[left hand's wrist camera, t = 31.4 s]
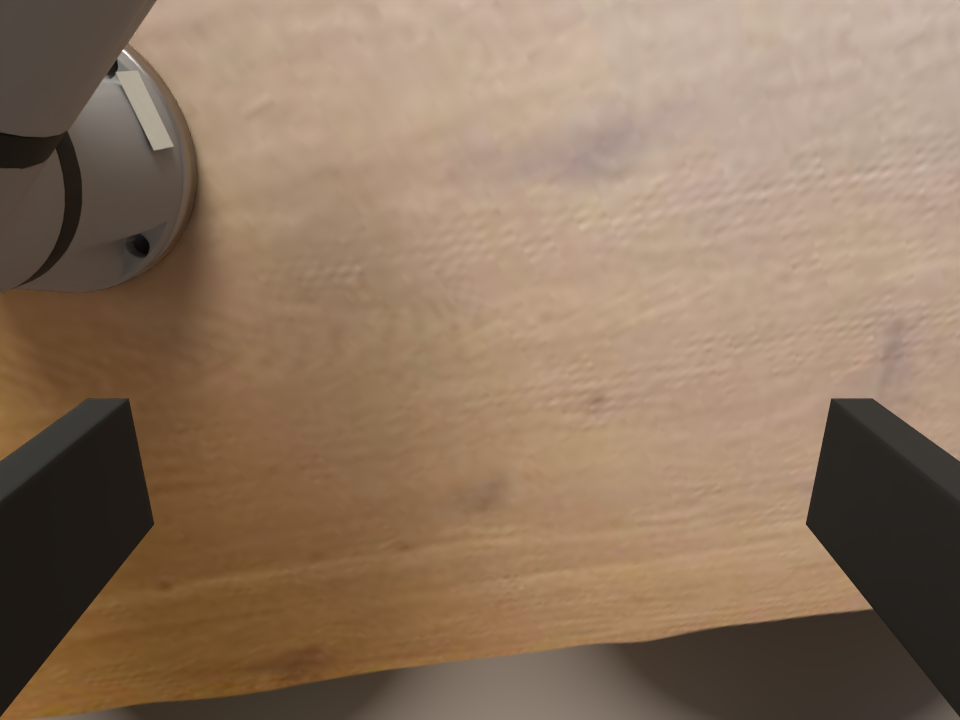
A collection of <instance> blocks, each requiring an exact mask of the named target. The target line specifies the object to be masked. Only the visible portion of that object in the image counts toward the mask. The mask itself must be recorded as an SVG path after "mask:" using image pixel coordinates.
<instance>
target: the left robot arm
mask: <svg viewBox="0 0 960 720" xmlns="http://www.w3.org/2000/svg"><path fill="white" fill-rule="evenodd" d="M155 2H156V0H0V294H1V293H3V292H6V291H8V290H10V289H13V288H16V289H27V290H39V291H51V292H67V293H79V292H91V291H98V290H102V289H106V288H110V287H113V286H116V285H118V284H121V283H123V282H126V281H128V280H130V279H132V278H134V277H136V276H138V275H140V274H142V273H144V272H146V271H147V270H149V269H150V268H152V267H154V266H155V265H156V264H157V263H159V262H160V261H161V260H162V259H163V258H164V257H165V256H166V255H167V254H168V253H169V252H170V251H171V250H172V249H173V247H174V246H175V245H176V243H177V242H178V241H179V239H180V237H181V236H182V234H183V232H184V230H185V228H186V226H187V224H188V221H189V219H190V215H191V212H192V209H193V205H194V200H195V194H196V183H197V176H196V160H195V153H194V148H193V143H192V139H191V136H190V132H189V129H188V126H187V124H186V121H185V118H184V116H183V114H182V112H181V109H180V107H179V105H178V103H177V101H176V100H175V98H174V96H173V95H172V93H171V91H170V89H169V88H168V87H167V85H166V84H165V82H164V81H163V79H162V78H161V77H160V75H159V74H158V73H157V72H156V71H155V69H154V68H153V67H152V66H151V65H150V64H149V63H148V62H147V61H146V60H145V59H144V58H143V57H142V56H141V55H140V54H139V53H138V52H137V51H136V50H135V49H134V48H132V47H131V46H130V45H129V44H128V42H129V40H130V39H131V37H132V36H133V34H134V33H135V32H136V30H137V29H138V27H139V26H140V24H141V23H142V21H143V20H144V18H145V17H146V15H147V14H148V12H149V11H150V9H151V8H152V6H153V5H154V3H155ZM153 525H154V521H153V516H152V511H151V506H150V501H149V496H148V491H147V487H146V482H145V477H144V472H143V467H142V462H141V457H140V452H139V447H138V442H137V437H136V432H135V427H134V422H133V417H132V413H131V408H130V403H129V399H86V400H85V401H84V402H82V403H81V404H79V405H78V406H77V407H75V408H74V409H73V410H71V411H70V412H68V413H67V414H66V415H64V416H63V417H61V418H60V419H59V420H57V421H56V422H54V423H53V424H52V425H50V426H49V427H48V428H46V429H45V430H43V431H42V432H41V433H39V434H38V435H36V436H35V437H34V438H32V439H31V440H30V441H28V442H27V443H25V444H24V445H23V446H21V447H20V448H18V449H17V450H16V451H14V452H13V453H11V454H10V455H9V456H7V457H6V458H5V459H3V460H2V461H0V717H1V715H2V714H3V713H4V712H5V710H6V709H7V708H8V707H9V705H10V704H11V703H12V702H13V700H14V699H15V698H16V697H17V695H18V694H19V693H20V692H21V690H22V689H23V688H24V687H25V685H26V684H27V683H28V682H29V680H30V679H31V678H32V677H33V675H34V674H35V673H36V672H37V670H38V669H39V668H40V667H41V665H42V664H43V663H44V661H45V660H46V659H47V658H48V656H49V655H50V654H51V653H52V651H53V650H54V649H55V648H56V646H57V645H58V644H59V643H60V641H61V640H62V639H63V638H64V636H65V635H66V634H67V633H68V631H69V630H70V629H71V628H72V626H73V625H74V624H75V623H76V621H77V620H78V619H79V618H80V616H81V615H82V614H83V613H84V611H85V610H86V609H87V608H88V606H89V605H90V604H91V603H92V601H93V600H94V599H95V598H96V596H97V595H98V594H99V593H100V591H101V590H102V589H103V588H104V586H105V585H106V584H107V583H108V581H109V580H110V579H111V578H112V576H113V575H114V574H115V573H116V571H117V570H118V569H119V568H120V566H121V565H122V564H123V562H124V561H125V560H126V559H127V557H128V556H129V555H130V554H131V552H132V551H133V550H134V549H135V547H136V546H137V545H138V544H139V542H140V541H141V540H142V539H143V537H144V536H145V535H146V534H147V532H148V531H149V530H150V529H151V527H152V526H153ZM806 525H807V526H808V527H809V529H810V530H811V531H812V532H813V534H814V535H815V536H816V537H817V539H818V540H819V541H820V542H821V544H822V545H823V546H824V547H825V549H826V550H827V551H828V552H829V554H830V555H831V556H832V557H833V559H834V560H835V561H836V562H837V564H838V565H839V566H840V568H841V569H842V570H843V571H844V573H845V574H846V575H847V576H848V578H849V579H850V580H851V581H852V583H853V584H854V585H855V586H856V588H857V589H858V590H859V591H860V593H861V594H862V595H863V596H864V598H865V599H866V600H867V601H868V603H869V604H870V605H871V606H872V608H873V609H874V610H875V611H876V613H877V614H878V615H879V616H880V618H881V619H882V620H883V621H884V623H885V624H886V625H887V626H888V628H889V629H890V630H891V631H892V633H893V634H894V635H895V636H896V638H897V639H898V640H899V641H900V643H901V644H902V645H903V646H904V648H905V649H906V650H907V651H908V653H909V654H910V655H911V656H912V658H913V659H914V660H915V661H916V663H917V664H918V665H919V666H920V668H921V669H922V670H923V671H924V673H925V674H926V675H927V677H928V678H929V679H930V680H931V682H932V683H933V684H934V685H935V687H936V688H937V689H938V690H939V692H940V693H941V694H942V695H943V697H944V698H945V699H946V700H947V702H948V703H949V704H950V705H951V707H952V708H953V709H954V710H955V712H956V713H957V714H958V715H959V717H960V461H958V460H957V459H955V458H954V457H953V456H951V455H950V454H949V453H947V452H946V451H944V450H943V449H942V448H940V447H939V446H937V445H936V444H935V443H933V442H932V441H930V440H929V439H928V438H926V437H925V436H924V435H922V434H921V433H919V432H918V431H917V430H915V429H914V428H912V427H911V426H910V425H908V424H907V423H906V422H904V421H903V420H901V419H900V418H899V417H897V416H896V415H894V414H893V413H892V412H890V411H889V410H887V409H886V408H885V407H883V406H882V405H881V404H879V403H878V402H876V401H875V400H874V399H831V403H830V408H829V413H828V417H827V422H826V427H825V432H824V437H823V442H822V447H821V452H820V457H819V462H818V467H817V472H816V477H815V482H814V487H813V491H812V496H811V501H810V506H809V511H808V516H807V521H806Z"/></svg>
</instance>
